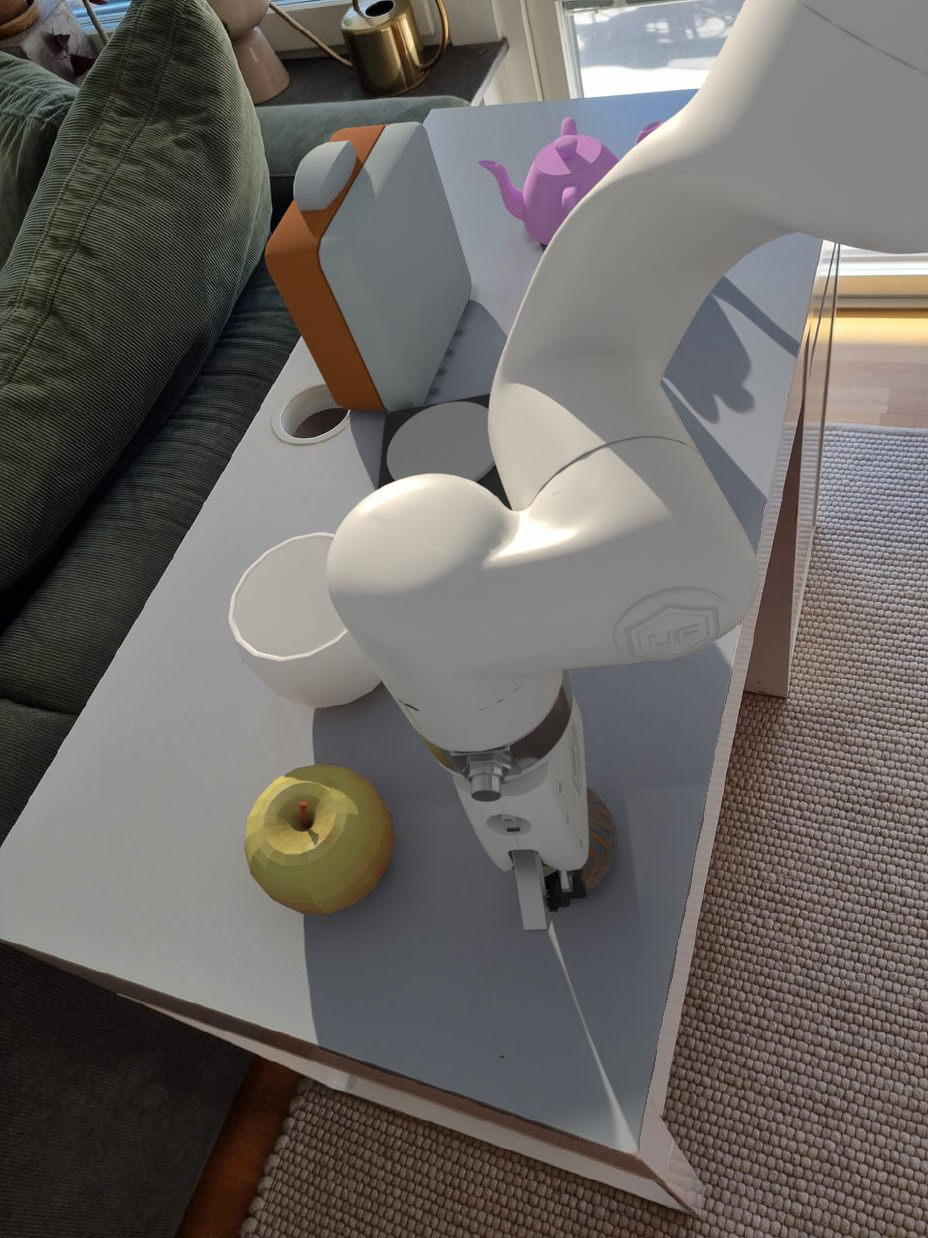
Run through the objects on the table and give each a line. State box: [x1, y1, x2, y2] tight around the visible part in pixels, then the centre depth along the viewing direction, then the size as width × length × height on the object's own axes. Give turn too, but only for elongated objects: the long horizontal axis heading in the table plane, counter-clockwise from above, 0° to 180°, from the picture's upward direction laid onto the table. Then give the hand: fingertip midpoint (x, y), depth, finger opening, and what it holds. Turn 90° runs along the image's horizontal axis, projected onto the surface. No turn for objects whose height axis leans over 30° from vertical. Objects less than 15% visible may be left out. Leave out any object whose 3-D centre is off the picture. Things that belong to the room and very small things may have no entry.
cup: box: [227, 531, 382, 709], centre depth 71 cm, size 12×12×10 cm
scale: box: [377, 392, 513, 511], centre depth 81 cm, size 12×14×3 cm
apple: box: [243, 763, 396, 915], centre depth 62 cm, size 10×10×8 cm
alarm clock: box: [263, 121, 473, 412], centre depth 86 cm, size 18×9×21 cm, turn 162°
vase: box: [542, 785, 618, 892], centre depth 58 cm, size 7×7×9 cm
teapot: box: [477, 117, 663, 247], centre depth 95 cm, size 12×14×9 cm
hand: (558, 832), depth 58 cm, fingers closed on vase, 6 cm apart
